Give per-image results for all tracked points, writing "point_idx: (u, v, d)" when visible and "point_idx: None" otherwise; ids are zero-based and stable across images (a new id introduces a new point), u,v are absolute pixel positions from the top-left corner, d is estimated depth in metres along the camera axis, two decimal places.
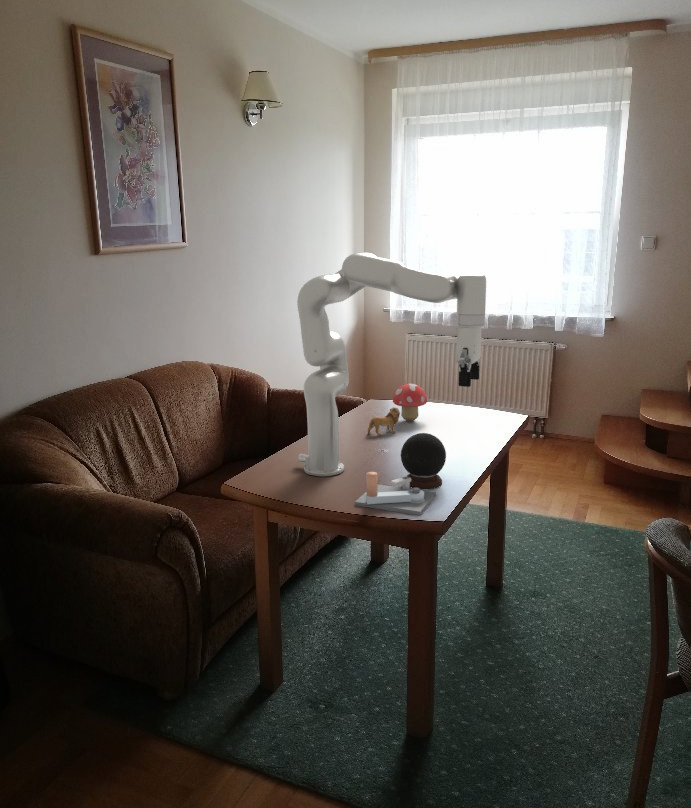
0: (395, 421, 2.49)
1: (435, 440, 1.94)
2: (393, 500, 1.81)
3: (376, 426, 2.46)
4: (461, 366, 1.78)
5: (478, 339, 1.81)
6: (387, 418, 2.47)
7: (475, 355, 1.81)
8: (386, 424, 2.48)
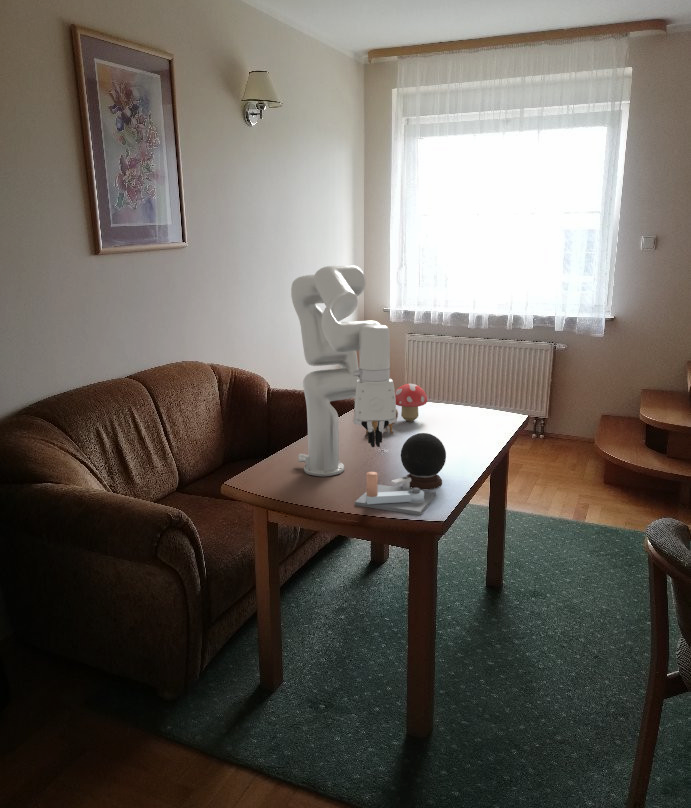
0: None
1: (435, 440, 1.94)
2: (393, 500, 1.81)
3: (374, 426, 2.46)
4: None
5: None
6: None
7: None
8: None
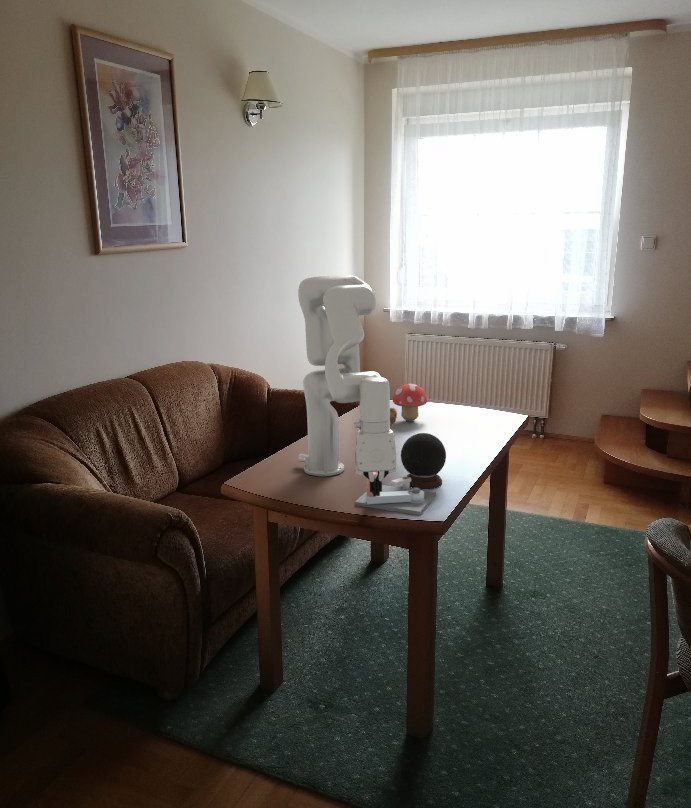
0: (392, 421, 2.48)
1: (435, 440, 1.94)
2: (393, 500, 1.81)
3: None
4: None
5: None
6: None
7: None
8: None
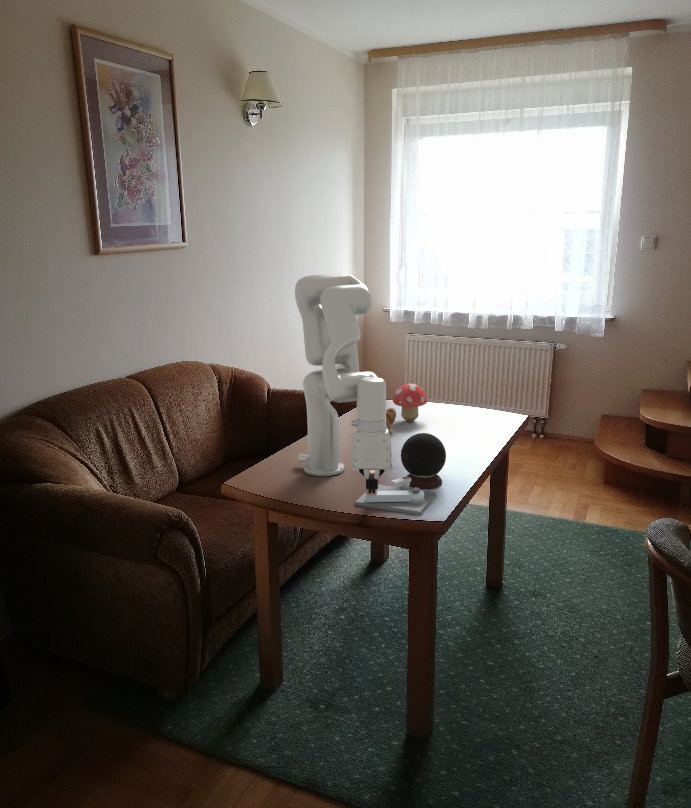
0: (392, 421, 2.48)
1: (435, 440, 1.94)
2: (392, 499, 1.82)
3: None
4: None
5: None
6: None
7: None
8: None
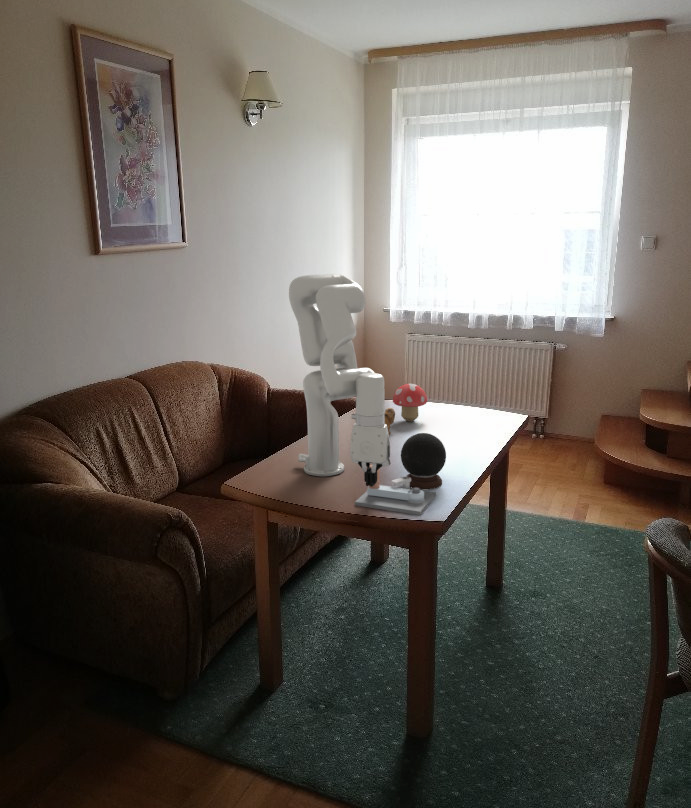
0: (391, 422, 2.48)
1: (435, 440, 1.94)
2: (391, 496, 1.85)
3: None
4: None
5: None
6: None
7: None
8: None
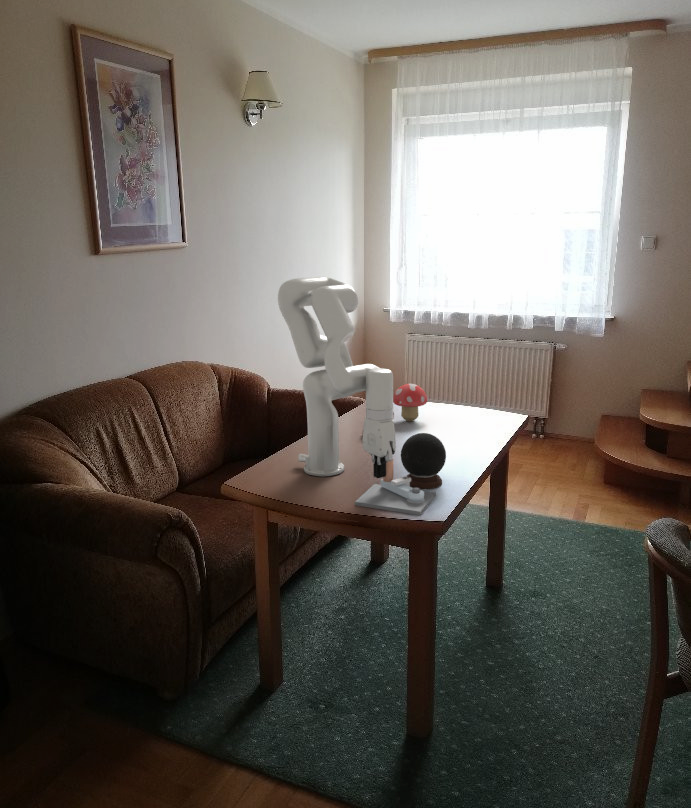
0: None
1: (435, 440, 1.94)
2: (396, 491, 1.88)
3: None
4: None
5: None
6: None
7: None
8: None
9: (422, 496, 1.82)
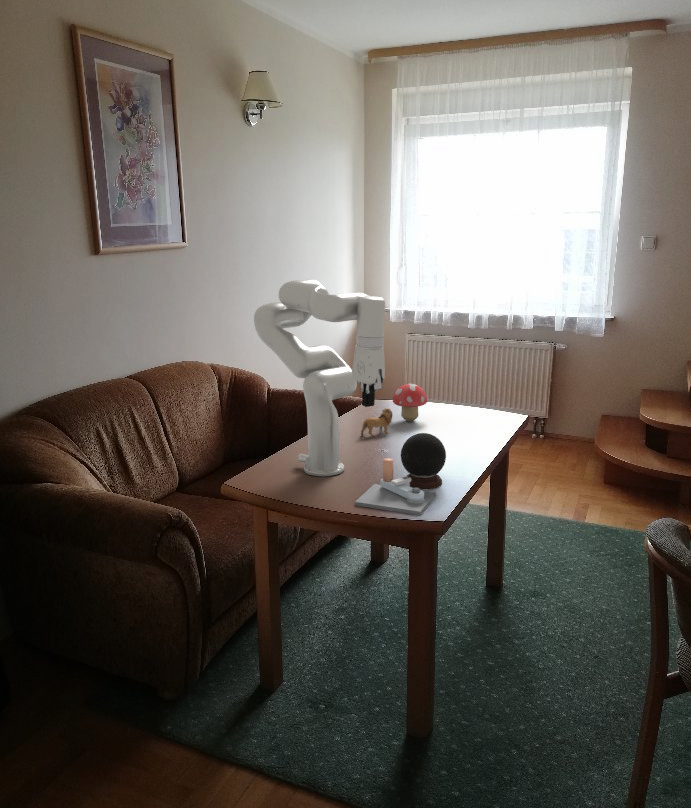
0: (388, 422, 2.48)
1: (435, 440, 1.94)
2: (396, 491, 1.88)
3: (369, 427, 2.45)
4: (373, 389, 1.88)
5: None
6: (380, 419, 2.46)
7: None
8: (379, 425, 2.46)
9: (422, 496, 1.82)
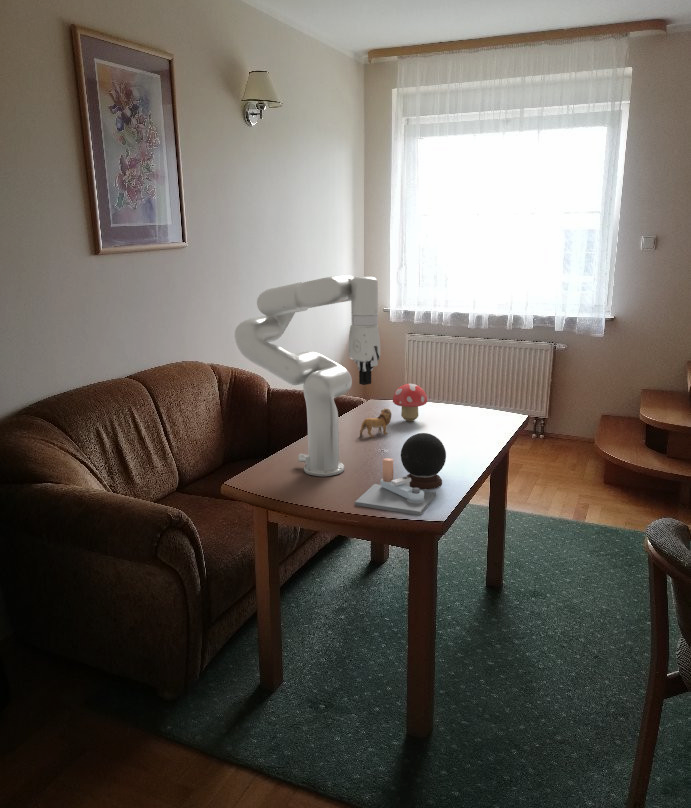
0: (387, 422, 2.47)
1: (435, 440, 1.94)
2: (396, 491, 1.88)
3: (368, 427, 2.44)
4: (370, 366, 1.93)
5: None
6: (379, 420, 2.46)
7: None
8: (378, 425, 2.46)
9: (422, 496, 1.82)
